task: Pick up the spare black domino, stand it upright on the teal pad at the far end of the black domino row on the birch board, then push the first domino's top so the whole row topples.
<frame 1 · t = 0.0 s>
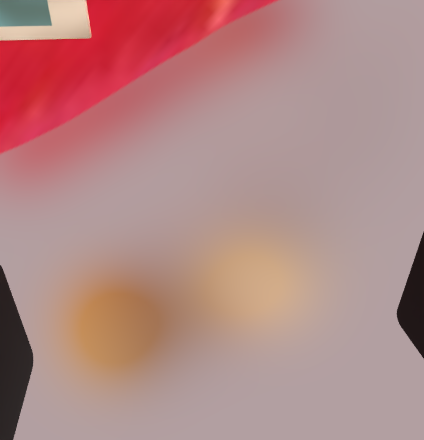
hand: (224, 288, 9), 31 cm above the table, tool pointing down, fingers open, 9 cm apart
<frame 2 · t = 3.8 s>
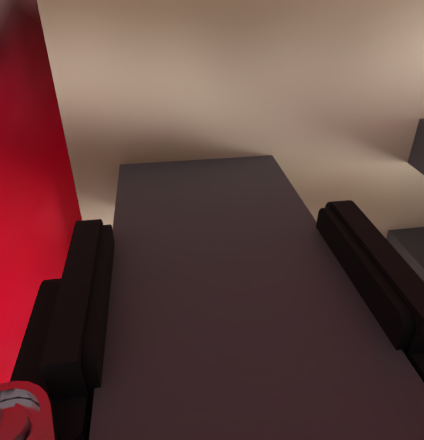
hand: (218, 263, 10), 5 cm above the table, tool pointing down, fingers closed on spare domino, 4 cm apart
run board: (326, 297, 19), on the table
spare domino: (198, 181, 14), point 1 cm above the table, touching gripper, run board
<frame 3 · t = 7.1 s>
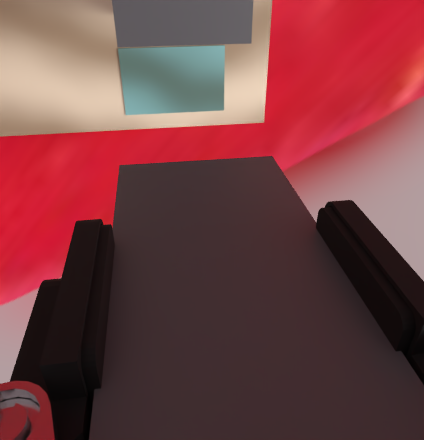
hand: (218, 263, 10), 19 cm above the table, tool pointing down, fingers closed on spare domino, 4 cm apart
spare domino: (198, 182, 14), point 15 cm above the table, touching gripper
when the fingers open (6 cm above the table, at t = 10.7 s): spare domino stays where it is, resting on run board.
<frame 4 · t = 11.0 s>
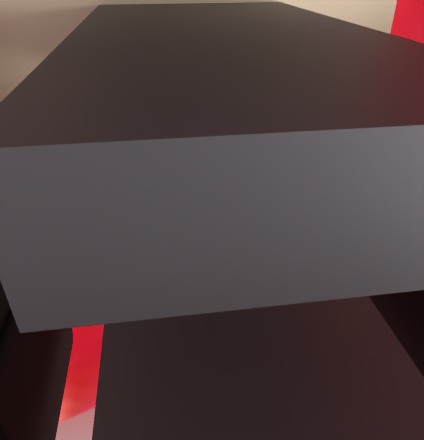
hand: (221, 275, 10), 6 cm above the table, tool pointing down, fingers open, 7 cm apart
domino 4: (193, 35, 12), point 1 cm above the table, touching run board
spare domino: (198, 178, 14), point 1 cm above the table, touching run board
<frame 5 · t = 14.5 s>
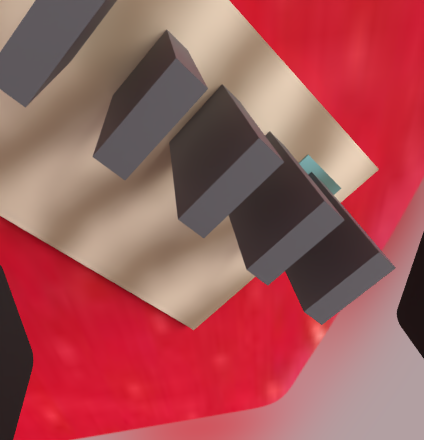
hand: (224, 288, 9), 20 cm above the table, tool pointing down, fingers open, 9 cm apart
domino 4: (250, 164, 28), point 1 cm above the table, touching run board
domino 1: (85, 14, 22), point 1 cm above the table, touching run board
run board: (151, 151, 28), on the table
domino 3: (204, 122, 26), point 1 cm above the table, touching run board
domino 2: (149, 72, 24), point 1 cm above the table, touching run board
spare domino: (292, 201, 30), point 1 cm above the table, touching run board
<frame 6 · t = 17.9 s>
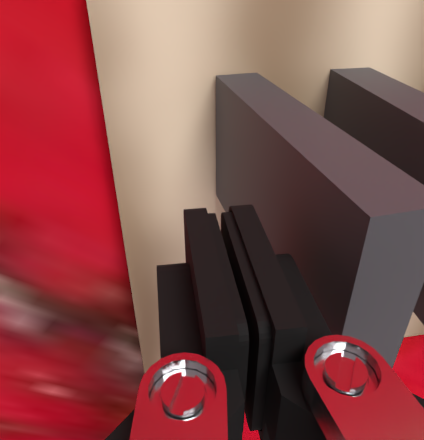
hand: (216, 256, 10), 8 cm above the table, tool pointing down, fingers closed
domino 1: (234, 137, 16), point 1 cm above the table, tilted 6°, touching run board
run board: (384, 194, 20), on the table
domino 2: (339, 130, 17), point 1 cm above the table, touching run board
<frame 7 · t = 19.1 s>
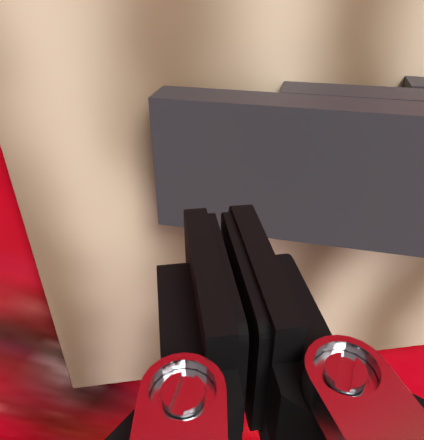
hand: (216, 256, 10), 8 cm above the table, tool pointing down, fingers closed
domino 1: (160, 157, 15), point 2 cm above the table, tilted 69°, touching domino 2, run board
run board: (311, 209, 20), on the table
domino 2: (276, 151, 16), point 2 cm above the table, tilted 69°, touching domino 1, domino 3, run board
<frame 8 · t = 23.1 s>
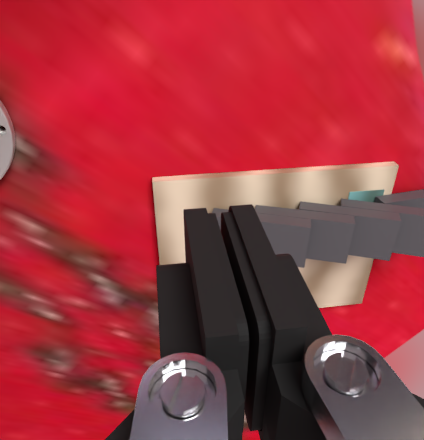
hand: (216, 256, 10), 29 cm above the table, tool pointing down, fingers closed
domino 4: (337, 221, 45), point 2 cm above the table, tilted 68°, touching domino 3, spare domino
domino 1: (212, 231, 43), point 2 cm above the table, tilted 69°, touching domino 2, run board
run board: (270, 246, 48), on the table
domino 3: (297, 224, 44), point 2 cm above the table, tilted 68°, touching domino 2, domino 4, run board
domino 2: (253, 228, 44), point 2 cm above the table, tilted 69°, touching domino 1, domino 3, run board
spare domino: (375, 219, 45), point 2 cm above the table, tilted 97°, touching domino 4, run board
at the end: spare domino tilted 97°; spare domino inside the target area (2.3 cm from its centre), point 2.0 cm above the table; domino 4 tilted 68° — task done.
